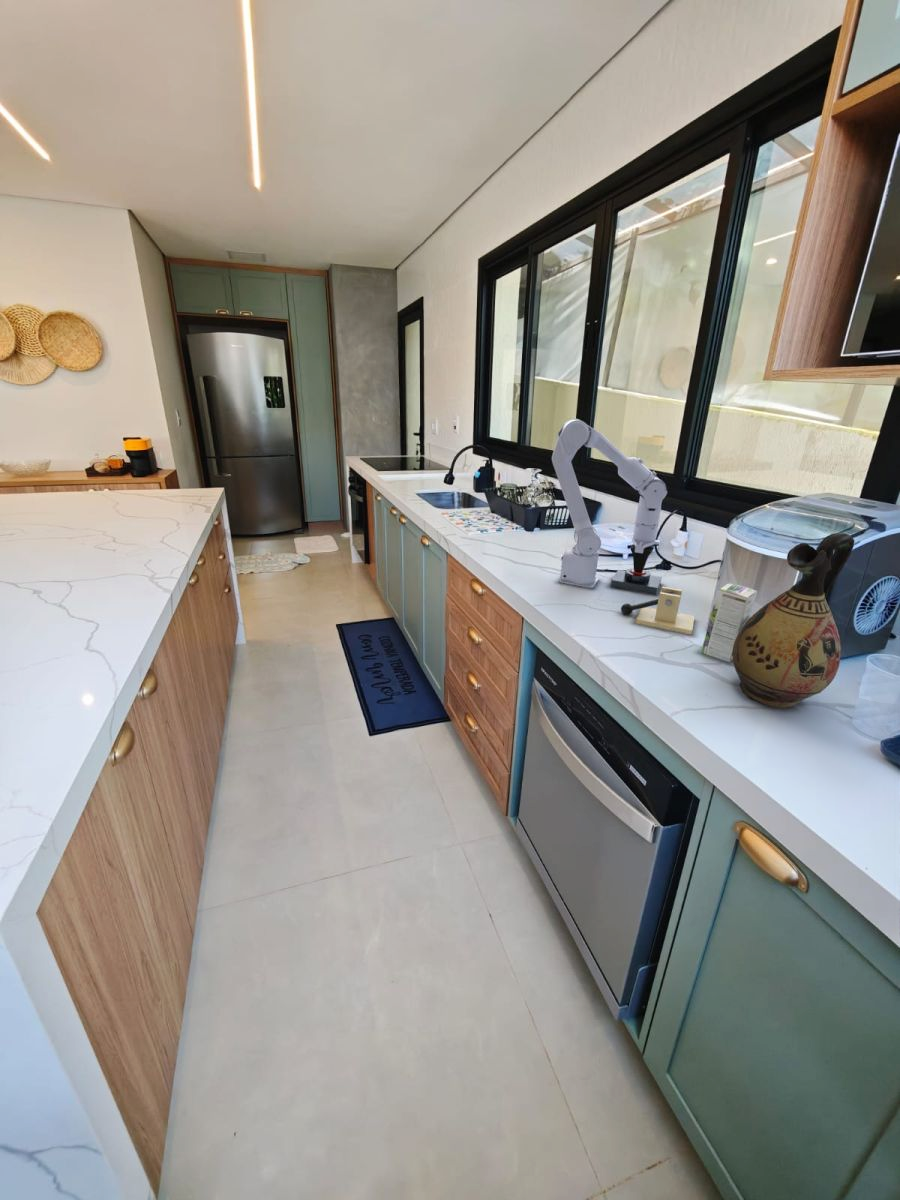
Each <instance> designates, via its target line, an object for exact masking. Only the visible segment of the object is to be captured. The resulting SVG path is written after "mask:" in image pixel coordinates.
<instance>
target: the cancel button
mask: <svg viewBox="0 0 900 1200" xmlns="http://www.w3.org/2000/svg"><path fill="white" fill-rule="evenodd" d="M632 569H633V570H631V573H633V574H637V575H644V574H645V571H642V573H640V572H634V568H632Z"/></svg>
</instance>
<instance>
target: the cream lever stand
mask: <svg viewBox="0 0 900 1200" xmlns="http://www.w3.org/2000/svg"><path fill="white" fill-rule="evenodd" d="M673 591H675V593H676V595H674V594H669V592H673ZM682 594H683V589H679V588H672V587H666V586H662V587H661V590H660V592H659V596H658V599H659V600H658V605H656V608H653V607H650V606H649V607H645V608H641V609H639V612H638V614H637V617H636V619H635V624H637V625H642V626H647V627H652V628H656V629H660V630H661V629H662V630H665V631H671V632H676V633H681V634H686V635H690V636H691V635H692V634H693V629H694V623H695V617H696V616H695V615H691V614H686V613H682V612H681V613H680V612H679V609H680V608H679V607H680V603H681V599H682Z"/></svg>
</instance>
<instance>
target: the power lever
mask: <svg viewBox="0 0 900 1200" xmlns="http://www.w3.org/2000/svg"><path fill="white" fill-rule="evenodd" d="M669 594H674V595H676V593H675V591H673V592H669ZM658 600H659V598H657V599H652V600H648V601H644V602H640V603H636V604H631V603H624V604H622V605H621V607H620V611H621V613H622V614H623V615H625V616H630V615H631V614H632V613H633V611H637V610H641V608H645V607H649V608H650V607H653V606H657V605H658Z"/></svg>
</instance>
